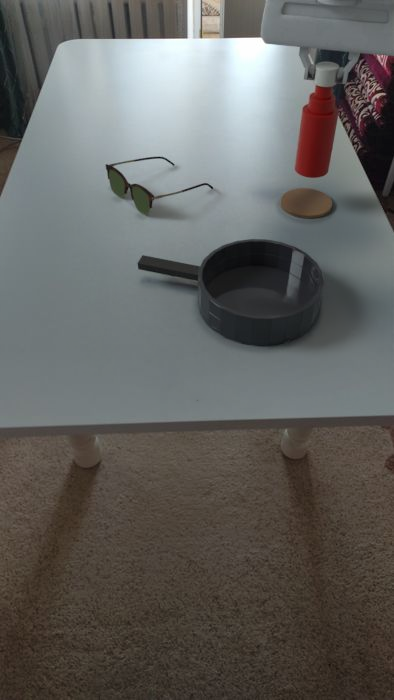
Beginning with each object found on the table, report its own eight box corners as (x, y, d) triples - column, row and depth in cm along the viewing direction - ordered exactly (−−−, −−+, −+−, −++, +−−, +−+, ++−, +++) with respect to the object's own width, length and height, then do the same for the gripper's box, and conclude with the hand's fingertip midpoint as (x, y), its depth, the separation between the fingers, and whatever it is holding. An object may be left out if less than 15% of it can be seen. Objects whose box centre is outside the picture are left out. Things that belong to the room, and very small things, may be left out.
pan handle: (203, 273, 80) (203, 266, 79) (198, 281, 78) (198, 275, 78) (143, 261, 82) (142, 254, 81) (138, 269, 80) (137, 262, 80)
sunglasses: (106, 188, 101) (104, 162, 98) (169, 168, 108) (170, 143, 105) (153, 221, 93) (153, 194, 90) (217, 197, 101) (220, 172, 97)
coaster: (335, 195, 99) (335, 192, 98) (327, 222, 93) (328, 219, 93) (285, 187, 101) (286, 184, 100) (275, 213, 95) (275, 210, 95)
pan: (326, 277, 83) (332, 250, 79) (306, 357, 72) (312, 330, 68) (217, 257, 87) (218, 230, 83) (182, 330, 75) (181, 302, 72)
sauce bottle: (330, 164, 93) (349, 60, 81) (325, 180, 90) (344, 74, 78) (298, 159, 94) (311, 57, 83) (291, 175, 91) (305, 70, 79)
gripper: (259, -30, 72) (252, 80, 82) (421, -19, 67) (393, 96, 77) (269, -41, 76) (262, 65, 86) (423, -31, 71) (396, 80, 82)
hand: (325, 80), depth 82 cm, fingers closed on sauce bottle, 3 cm apart
